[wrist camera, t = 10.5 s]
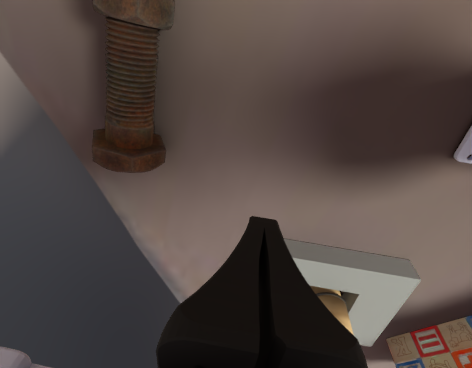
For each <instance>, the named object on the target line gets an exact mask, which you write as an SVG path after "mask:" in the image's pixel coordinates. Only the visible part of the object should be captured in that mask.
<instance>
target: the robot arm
mask: <svg viewBox="0 0 472 368" xmlns="http://www.w3.org/2000/svg"><path fill="white" fill-rule="evenodd" d="M471 154H472V126H471V127H470V129H469V131H468V132H467V134H466V136H465V137H464V139H463V140H462V142H461V144H460V145H459V147H458V149H457V150H456V152H455V154H454V158H455V160H457V161H459V162H464V163H470V164H472V155H471ZM469 155H471V157H469V158H467V157H468V156H469ZM156 355H157V364H158V368H368V366H367V363H366V359H365V357H364V354H363V351H362V349H361V346H360V344H359V341H358V339H357V338H356V337H355V336H354V335H353V334H352V333H351V332H350V331H349V330H348V329H347V328H346V327H345V326H344V325H343V324H342V323H341V322H340V321H339V320H338V319H337V318H336V317H335V316H334V315H333V314H332V313H331V312H330V311H329V310H328V308H327V307H326V306H325V305H324V304H323V302H322V301H321V300H320V299H319V297H318V296H317V295H316V294H315V292H314V291H313V290H312V288H311V287H310V285H309V284H308V283H307V281H306V280H305V278H304V277H303V275H302V273H301V272H300V270H299V268H298V267H297V265H296V263H295V261H294V260H293V258H292V256H291V254H290V252H289V250H288V248H287V245H286V243H285V241H284V239H283V236H282V234H281V231H280V228H279V225H278V222H277V221H276V220H273V219H267V218H261V217H254V216H252V217H250V220H249V223H248V226H247V228H246V230H245V233H244V234H243V236H242V238H241V240H240V242H239V243H238V245H237V246H236V248H235V249H234V251H233V252H232V254H231V255H230V256H229V258H228V259H227V260H226V262H225V263H224V264H223V265H222V266H221V268H220V269H219V270H218V271H217V272H216V273H215V274H214V275H213V276H212V277H211V278H210V279H209V280H208V281H207V282H206V283H205V284H204V285H203V286H202V287H201V288H200V289H198V290H197V291H196V292H195V293H194V294H193V295H191V296H190V297H189V298H187V299H186V300H185V301H184V302H182V303H181V304H180V305H178V307H177V308H176V310H175V311H174V313H173V314H172V316H171V317H170V319H169V321H168V322H167V324H166V326H165V328H164V330H163V332H162V334H161V337H160V340H159V342H158V345H157V350H156ZM0 368H51V367H46V366H41V365H36V364H32V363H31V360H30V358H29V356H28V355H26V354H25V353H23V352H21V351H18V350H14V349H9V348H4V347H0Z"/></svg>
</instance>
